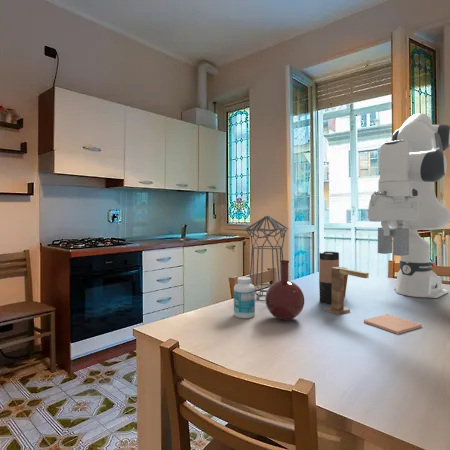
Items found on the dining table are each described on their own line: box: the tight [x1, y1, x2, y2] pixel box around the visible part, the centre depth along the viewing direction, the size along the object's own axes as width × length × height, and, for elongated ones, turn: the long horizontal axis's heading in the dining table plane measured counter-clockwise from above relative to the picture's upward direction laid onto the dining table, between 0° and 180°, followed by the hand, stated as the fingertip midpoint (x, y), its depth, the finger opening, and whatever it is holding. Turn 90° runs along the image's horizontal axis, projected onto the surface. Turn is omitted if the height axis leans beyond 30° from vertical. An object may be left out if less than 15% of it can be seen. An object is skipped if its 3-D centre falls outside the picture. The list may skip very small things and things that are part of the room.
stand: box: [325, 266, 369, 315], centre depth 118 cm, size 6×16×16 cm, turn 29°
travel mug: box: [318, 251, 340, 306], centre depth 134 cm, size 8×8×20 cm
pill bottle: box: [233, 276, 256, 319], centre depth 118 cm, size 8×7×14 cm
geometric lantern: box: [244, 215, 289, 302], centre depth 141 cm, size 16×16×35 cm
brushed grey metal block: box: [377, 226, 409, 257], centre depth 107 cm, size 8×4×8 cm, turn 29°
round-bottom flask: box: [264, 259, 305, 321], centre depth 114 cm, size 13×13×20 cm
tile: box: [363, 314, 423, 335], centre depth 108 cm, size 12×12×1 cm
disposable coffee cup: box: [340, 266, 349, 298], centre depth 143 cm, size 10×10×12 cm
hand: (393, 235), depth 106 cm, fingers closed on brushed grey metal block, 4 cm apart
